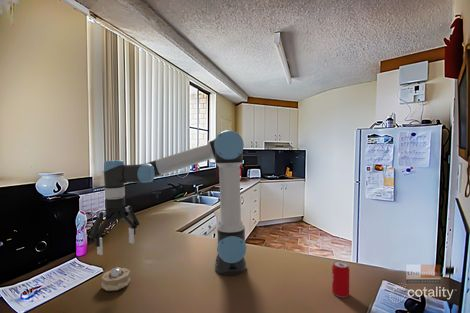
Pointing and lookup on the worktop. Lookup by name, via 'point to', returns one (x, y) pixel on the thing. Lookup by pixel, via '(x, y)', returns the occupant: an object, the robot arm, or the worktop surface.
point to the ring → (115, 280)
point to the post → (116, 274)
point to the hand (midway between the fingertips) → (116, 248)
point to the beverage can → (340, 279)
